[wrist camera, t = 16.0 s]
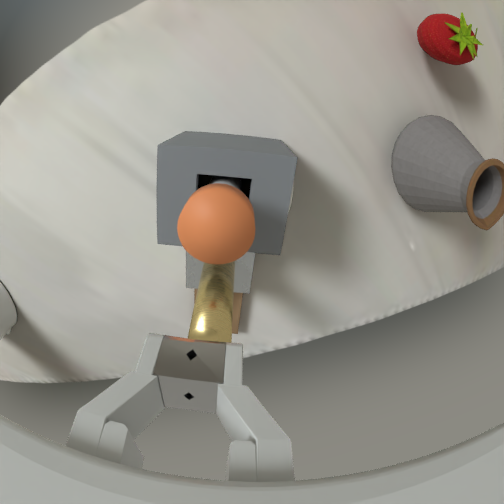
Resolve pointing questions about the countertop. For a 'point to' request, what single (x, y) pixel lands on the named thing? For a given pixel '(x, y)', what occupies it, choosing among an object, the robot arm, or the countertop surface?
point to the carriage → (216, 295)
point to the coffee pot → (447, 172)
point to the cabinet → (232, 165)
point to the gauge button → (217, 222)
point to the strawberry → (448, 39)
